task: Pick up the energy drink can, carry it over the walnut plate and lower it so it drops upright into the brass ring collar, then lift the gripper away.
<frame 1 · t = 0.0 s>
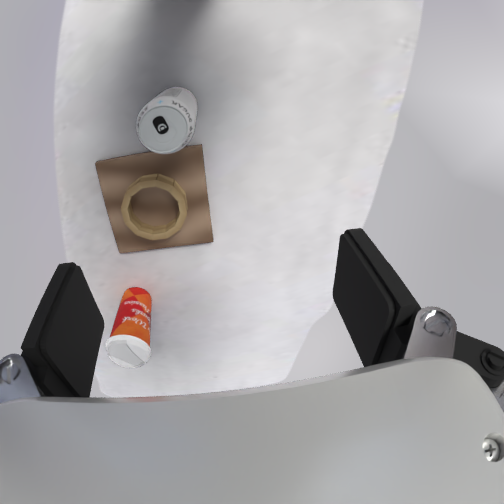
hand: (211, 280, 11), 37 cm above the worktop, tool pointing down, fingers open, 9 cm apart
paper cup: (137, 297, 58), on the worktop
energy drink can: (176, 106, 40), on the worktop
ring stand: (156, 201, 48), on the worktop
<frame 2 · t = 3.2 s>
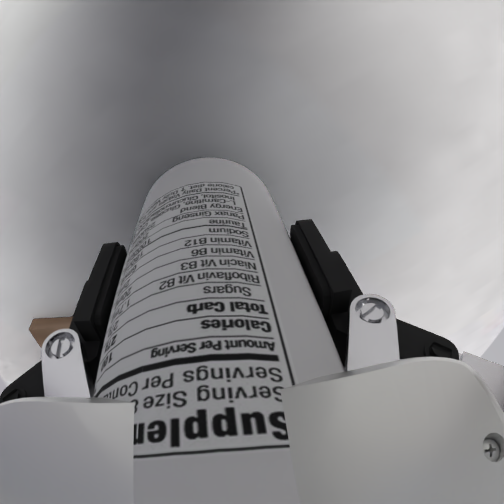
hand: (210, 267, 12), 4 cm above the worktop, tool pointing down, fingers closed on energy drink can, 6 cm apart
energy drink can: (207, 209, 15), on the worktop, touching gripper
ring stand: (169, 383, 23), on the worktop
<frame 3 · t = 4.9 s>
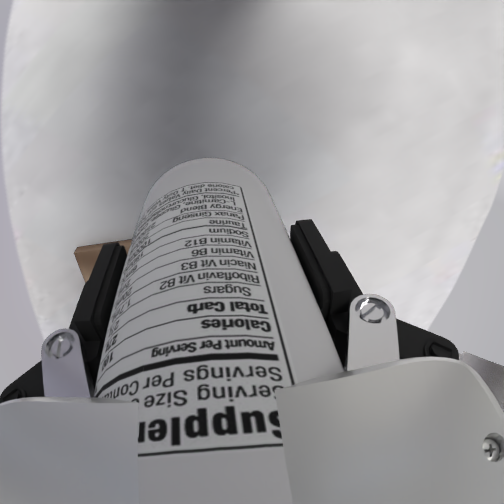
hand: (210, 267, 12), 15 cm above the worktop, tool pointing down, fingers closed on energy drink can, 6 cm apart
energy drink can: (207, 209, 15), point 11 cm above the worktop, touching gripper
ring stand: (173, 304, 32), on the worktop
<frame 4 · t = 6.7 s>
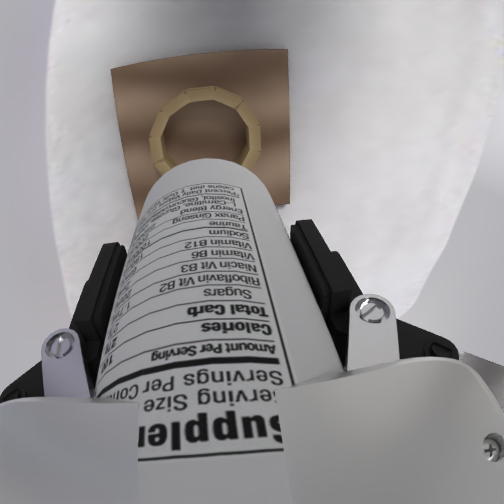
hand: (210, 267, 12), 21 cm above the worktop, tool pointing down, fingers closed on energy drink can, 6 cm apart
energy drink can: (207, 210, 15), point 17 cm above the worktop, touching gripper
ring stand: (205, 134, 29), on the worktop
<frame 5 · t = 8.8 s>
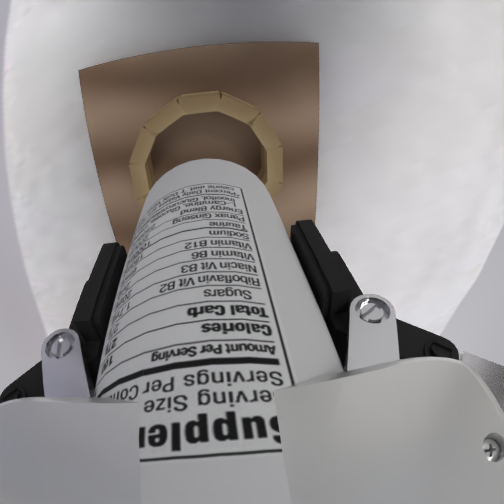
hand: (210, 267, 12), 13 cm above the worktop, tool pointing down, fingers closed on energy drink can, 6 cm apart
energy drink can: (207, 210, 15), point 9 cm above the worktop, touching gripper
ring stand: (206, 155, 22), on the worktop
when the fingers open (8 cm above the worktop, at t = 10.4 s): energy drink can drops 3 cm, resting on ring stand.
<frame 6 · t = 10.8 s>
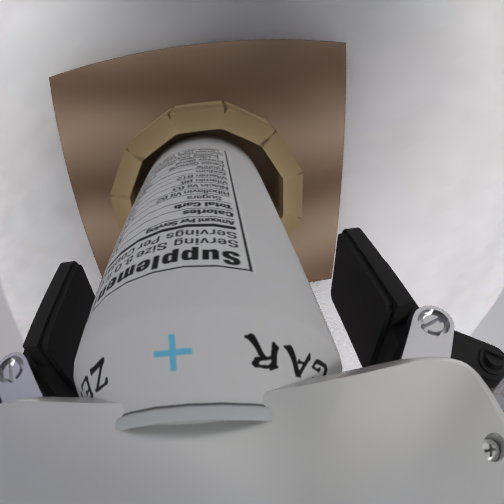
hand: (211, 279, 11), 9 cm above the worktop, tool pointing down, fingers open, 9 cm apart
energy drink can: (203, 182, 18), point 1 cm above the worktop, touching ring stand
ring stand: (206, 179, 19), on the worktop
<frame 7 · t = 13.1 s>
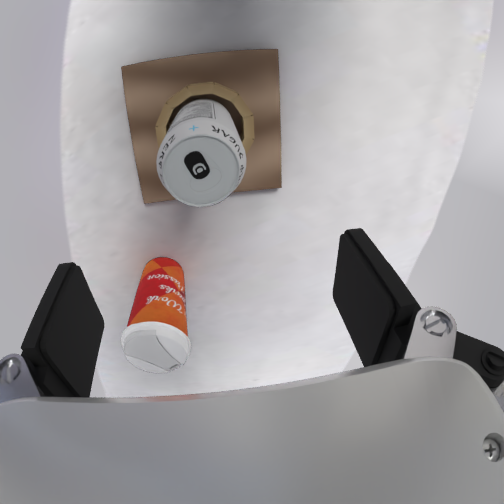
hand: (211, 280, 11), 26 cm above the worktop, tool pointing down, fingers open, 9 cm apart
paper cup: (163, 272, 43), on the worktop
energy drink can: (203, 124, 32), point 1 cm above the worktop, touching ring stand
ring stand: (205, 124, 33), on the worktop
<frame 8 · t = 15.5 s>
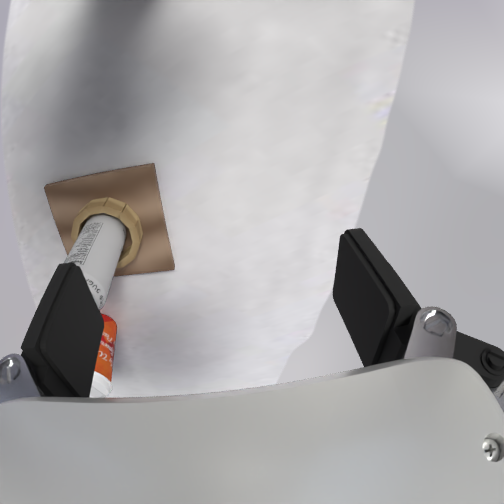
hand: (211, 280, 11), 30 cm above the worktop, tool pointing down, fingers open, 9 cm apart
paper cup: (102, 323, 52), on the worktop
energy drink can: (107, 227, 41), point 1 cm above the worktop, touching ring stand
ring stand: (110, 226, 42), on the worktop
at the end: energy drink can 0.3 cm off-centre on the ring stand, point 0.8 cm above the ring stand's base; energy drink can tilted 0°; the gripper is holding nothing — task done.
